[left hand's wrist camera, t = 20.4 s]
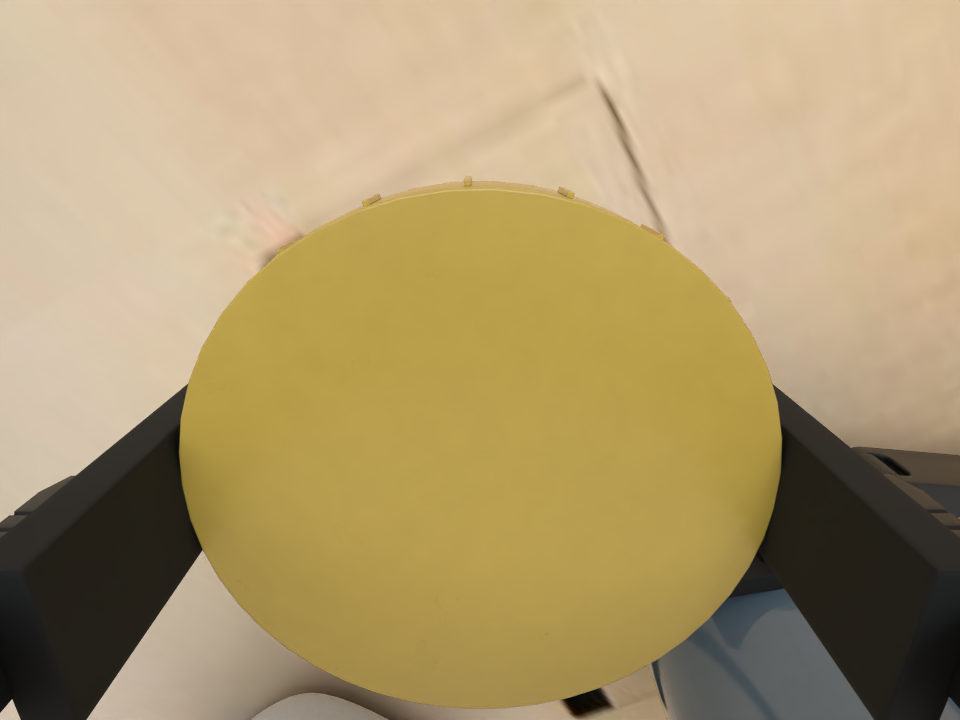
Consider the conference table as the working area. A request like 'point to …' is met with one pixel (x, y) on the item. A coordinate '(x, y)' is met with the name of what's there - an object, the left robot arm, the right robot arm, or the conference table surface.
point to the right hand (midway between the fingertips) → (677, 674)
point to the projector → (316, 709)
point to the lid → (480, 446)
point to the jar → (757, 668)
